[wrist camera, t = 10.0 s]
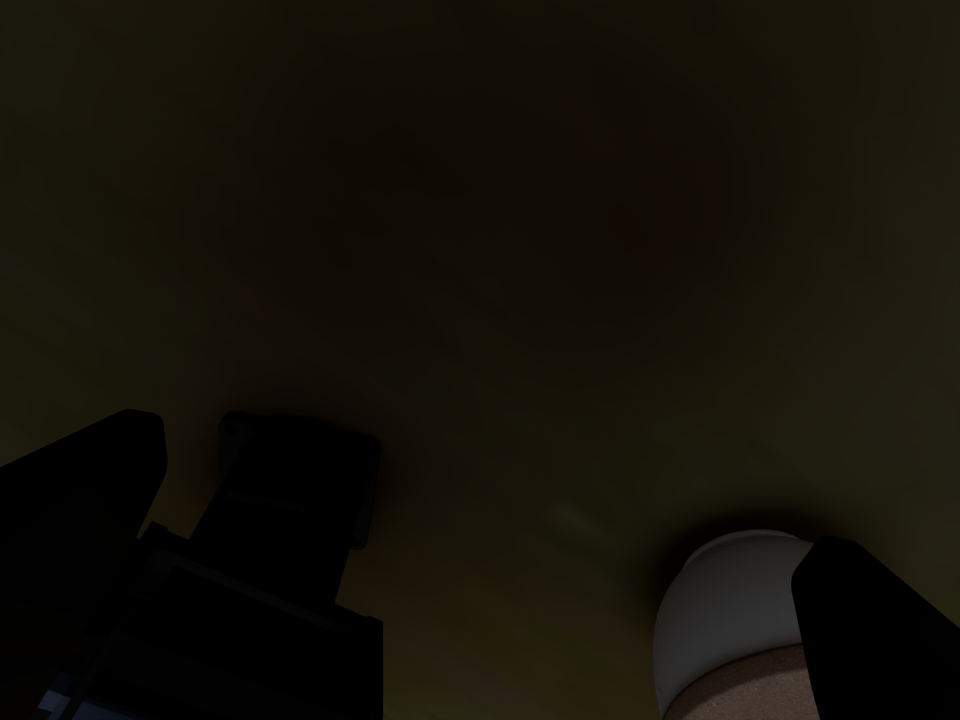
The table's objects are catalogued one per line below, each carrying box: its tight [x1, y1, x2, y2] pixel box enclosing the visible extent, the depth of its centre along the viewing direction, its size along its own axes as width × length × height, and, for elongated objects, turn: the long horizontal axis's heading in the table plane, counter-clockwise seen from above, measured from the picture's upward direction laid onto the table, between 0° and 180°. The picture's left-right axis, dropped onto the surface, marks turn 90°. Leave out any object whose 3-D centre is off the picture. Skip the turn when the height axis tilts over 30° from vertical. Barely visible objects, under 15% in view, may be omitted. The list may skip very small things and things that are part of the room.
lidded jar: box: [653, 529, 820, 720], centre depth 24 cm, size 11×11×9 cm
